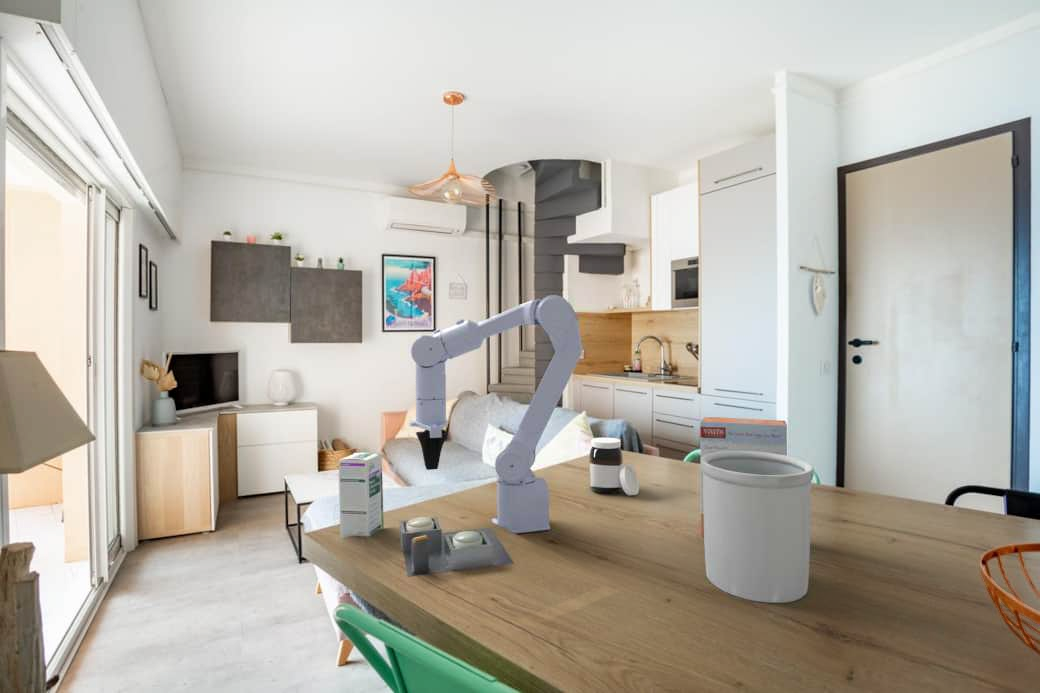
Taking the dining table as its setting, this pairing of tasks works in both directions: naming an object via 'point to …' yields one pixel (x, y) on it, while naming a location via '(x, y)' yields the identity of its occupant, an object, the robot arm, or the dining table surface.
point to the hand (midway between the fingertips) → (431, 468)
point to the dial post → (420, 554)
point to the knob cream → (419, 524)
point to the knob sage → (467, 539)
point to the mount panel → (453, 550)
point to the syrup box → (360, 494)
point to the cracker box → (740, 439)
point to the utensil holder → (757, 524)
